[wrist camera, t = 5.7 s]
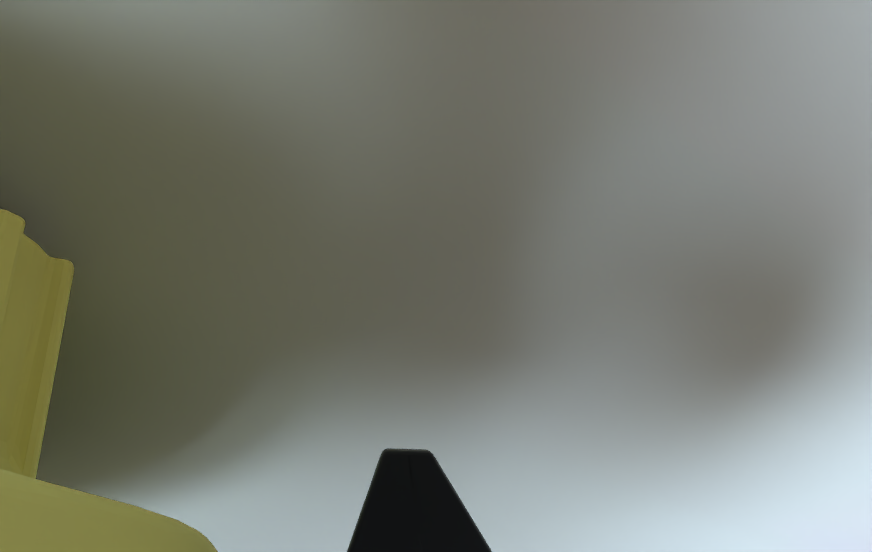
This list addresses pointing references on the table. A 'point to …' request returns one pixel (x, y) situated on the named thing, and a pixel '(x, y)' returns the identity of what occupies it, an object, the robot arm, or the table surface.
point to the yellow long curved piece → (27, 413)
